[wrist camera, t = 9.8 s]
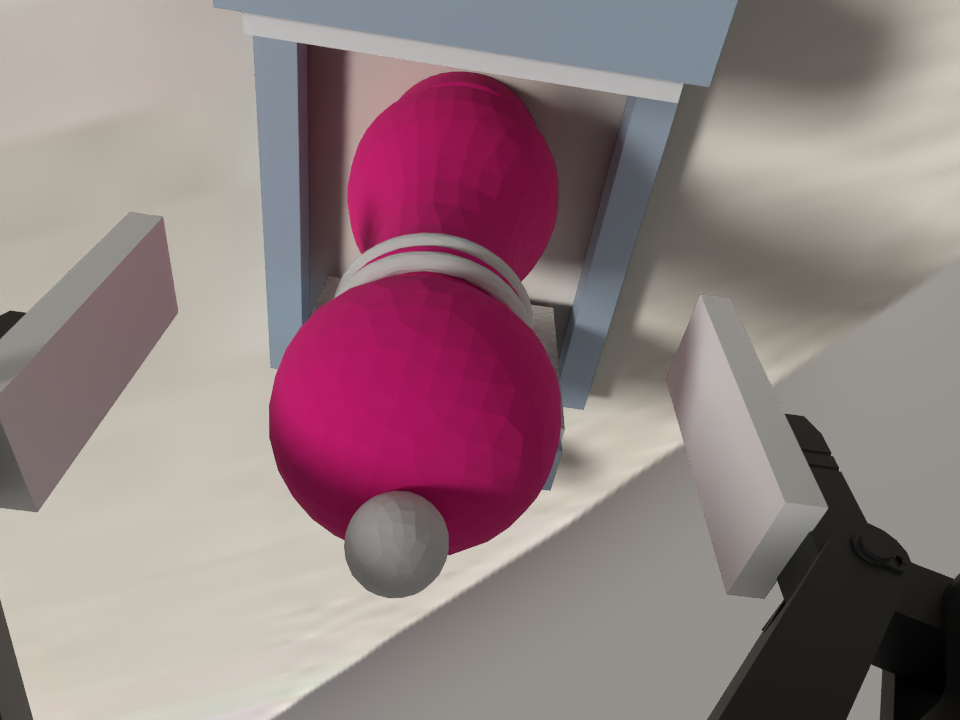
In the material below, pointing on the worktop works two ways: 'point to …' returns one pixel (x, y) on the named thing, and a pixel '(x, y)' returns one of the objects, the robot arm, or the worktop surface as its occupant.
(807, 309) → the worktop surface
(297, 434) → the pepper mill
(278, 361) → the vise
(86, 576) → the worktop surface
